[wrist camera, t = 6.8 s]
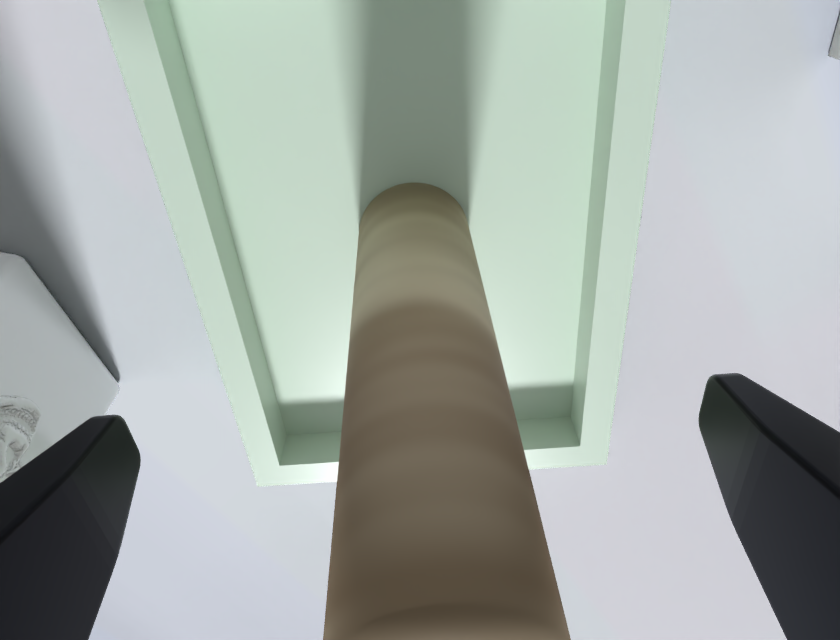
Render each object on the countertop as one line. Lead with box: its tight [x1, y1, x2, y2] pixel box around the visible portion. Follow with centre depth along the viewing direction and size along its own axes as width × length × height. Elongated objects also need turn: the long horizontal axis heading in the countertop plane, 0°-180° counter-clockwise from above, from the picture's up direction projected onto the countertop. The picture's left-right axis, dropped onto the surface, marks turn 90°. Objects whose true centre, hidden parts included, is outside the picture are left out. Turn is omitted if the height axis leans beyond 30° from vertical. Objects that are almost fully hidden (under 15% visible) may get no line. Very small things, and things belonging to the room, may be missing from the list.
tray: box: [97, 0, 671, 487], centre depth 14 cm, size 14×10×2 cm
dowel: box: [323, 183, 571, 640], centre depth 10 cm, size 3×3×10 cm
